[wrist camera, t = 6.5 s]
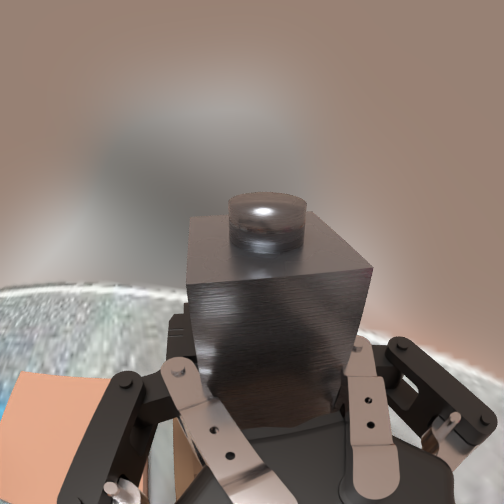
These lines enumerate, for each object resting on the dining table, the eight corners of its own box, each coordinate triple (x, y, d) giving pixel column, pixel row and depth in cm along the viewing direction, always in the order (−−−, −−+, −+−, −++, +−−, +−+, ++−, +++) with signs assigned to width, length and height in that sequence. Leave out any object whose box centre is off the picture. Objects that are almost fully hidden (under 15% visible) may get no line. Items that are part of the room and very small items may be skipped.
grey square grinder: (311, 457, 13) (381, 226, 7) (220, 471, 12) (180, 237, 6) (289, 393, 17) (313, 183, 12) (212, 403, 16) (188, 187, 11)
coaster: (149, 539, 9) (144, 537, 9) (-11, 494, 7) (-19, 488, 7) (151, 386, 21) (148, 379, 20) (25, 378, 19) (21, 371, 18)
